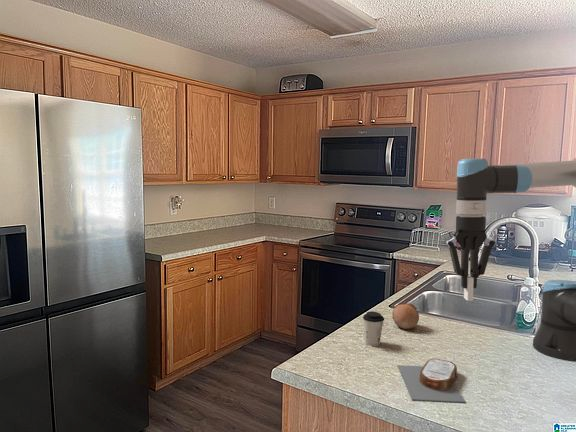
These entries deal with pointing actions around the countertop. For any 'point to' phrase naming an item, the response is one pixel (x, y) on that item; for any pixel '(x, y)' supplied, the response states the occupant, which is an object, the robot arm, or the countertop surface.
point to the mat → (425, 393)
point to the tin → (438, 374)
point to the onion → (405, 316)
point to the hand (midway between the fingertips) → (468, 299)
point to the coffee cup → (373, 327)
